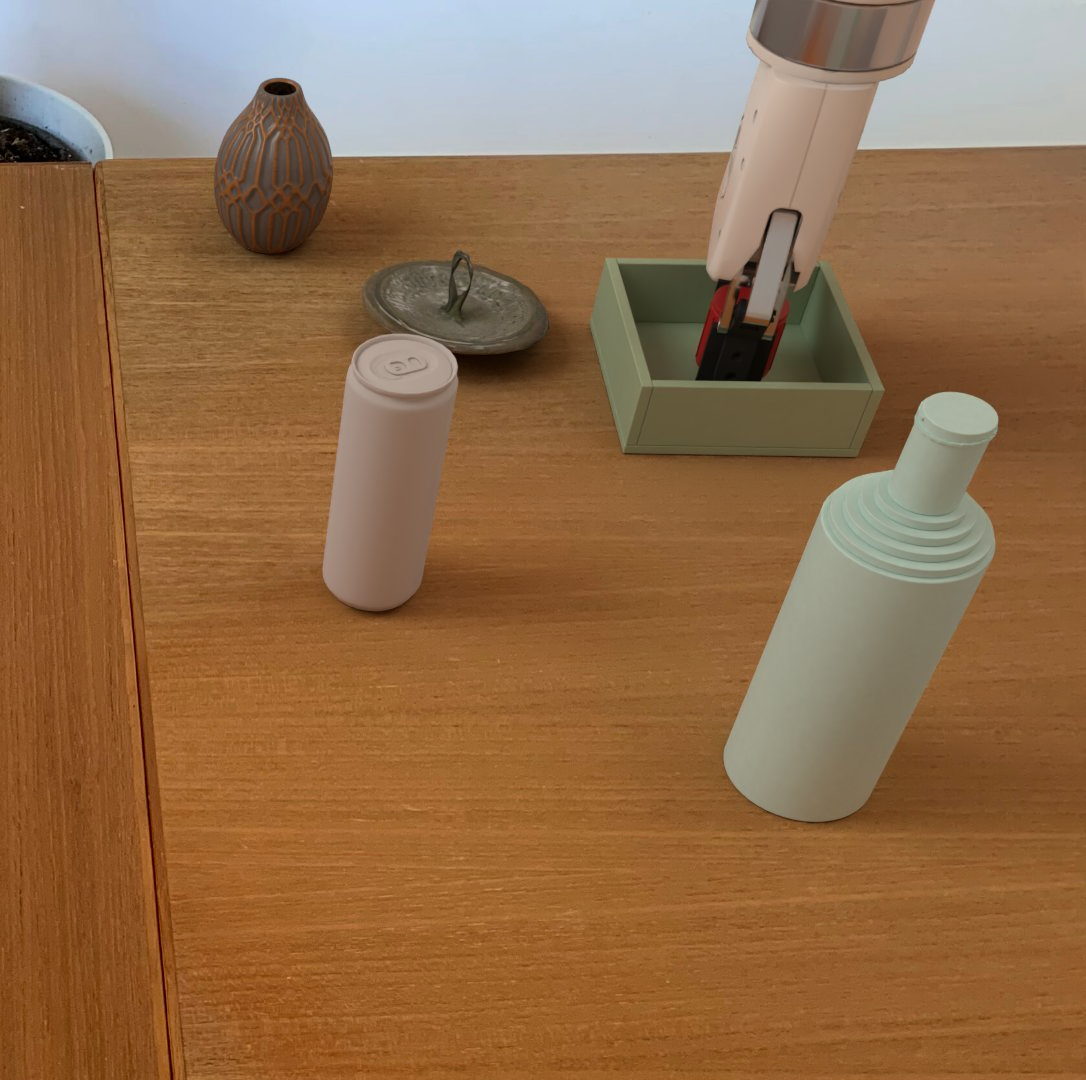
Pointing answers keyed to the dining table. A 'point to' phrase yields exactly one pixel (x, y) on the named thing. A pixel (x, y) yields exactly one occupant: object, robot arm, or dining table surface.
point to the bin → (729, 406)
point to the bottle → (866, 621)
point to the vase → (273, 170)
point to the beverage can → (388, 469)
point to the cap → (720, 297)
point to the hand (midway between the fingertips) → (726, 370)
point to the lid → (456, 305)
